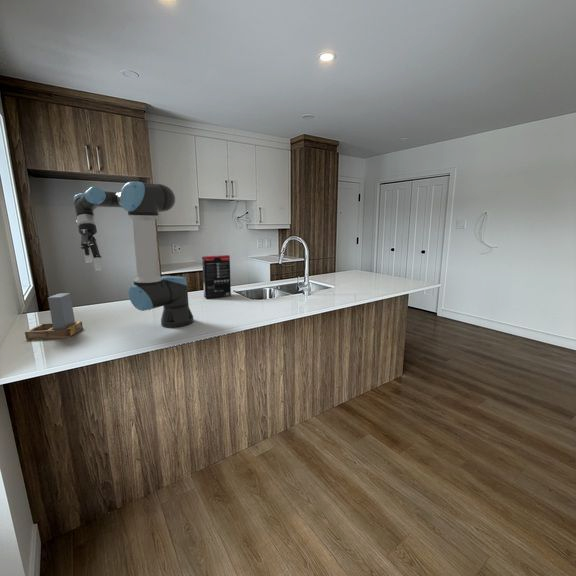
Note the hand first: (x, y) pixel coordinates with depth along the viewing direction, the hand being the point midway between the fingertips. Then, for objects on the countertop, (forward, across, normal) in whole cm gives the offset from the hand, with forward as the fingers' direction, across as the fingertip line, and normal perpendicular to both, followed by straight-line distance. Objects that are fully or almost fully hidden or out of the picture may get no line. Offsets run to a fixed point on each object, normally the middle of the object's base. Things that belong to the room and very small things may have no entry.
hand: (94, 266), depth 152 cm
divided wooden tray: (+28, 0, -20) cm, 34 cm away
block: (+29, +1, -16) cm, 33 cm away
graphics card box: (+20, -45, +58) cm, 76 cm away
